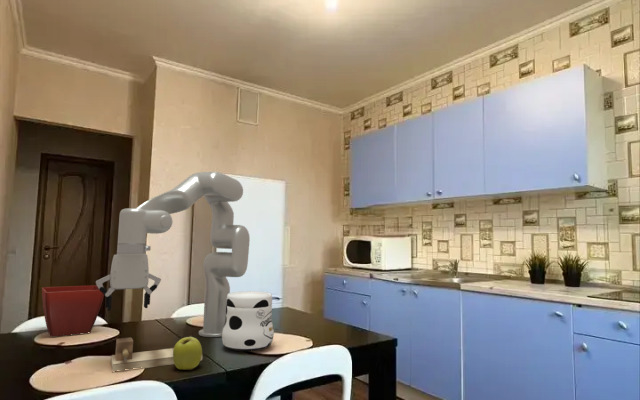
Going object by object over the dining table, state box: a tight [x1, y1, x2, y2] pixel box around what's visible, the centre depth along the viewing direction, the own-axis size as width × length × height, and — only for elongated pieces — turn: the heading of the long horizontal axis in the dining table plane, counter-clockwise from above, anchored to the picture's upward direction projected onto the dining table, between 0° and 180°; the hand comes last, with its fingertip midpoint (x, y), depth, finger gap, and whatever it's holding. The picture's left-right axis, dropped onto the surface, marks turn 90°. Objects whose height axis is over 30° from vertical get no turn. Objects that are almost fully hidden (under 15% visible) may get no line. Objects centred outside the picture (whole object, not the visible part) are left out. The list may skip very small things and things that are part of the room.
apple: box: [173, 332, 203, 371], centre depth 110 cm, size 8×8×10 cm
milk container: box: [221, 290, 275, 352], centre depth 133 cm, size 17×17×18 cm
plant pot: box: [41, 284, 105, 337], centre depth 150 cm, size 19×19×17 cm
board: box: [110, 347, 204, 371], centre depth 115 cm, size 24×10×2 cm, turn 121°
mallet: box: [114, 337, 134, 361], centre depth 110 cm, size 4×10×5 cm, turn 31°
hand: (127, 308), depth 113 cm, fingers open, 9 cm apart
